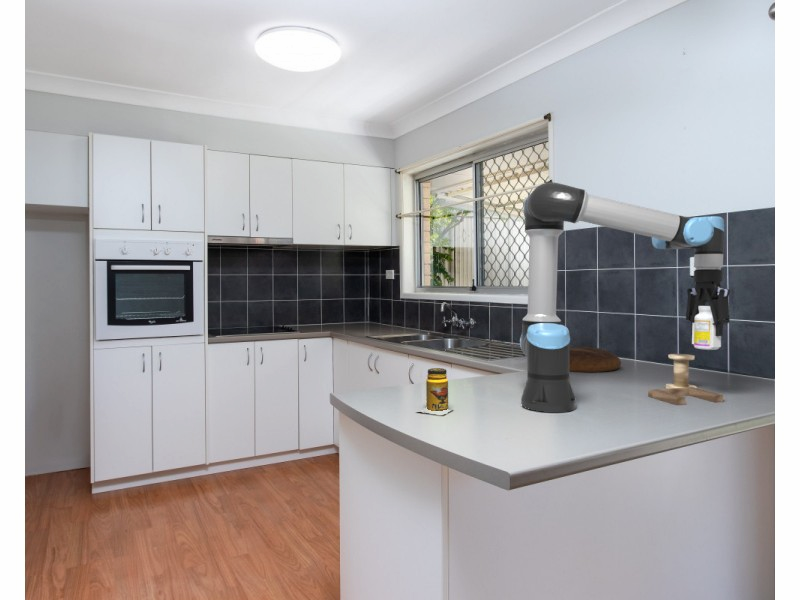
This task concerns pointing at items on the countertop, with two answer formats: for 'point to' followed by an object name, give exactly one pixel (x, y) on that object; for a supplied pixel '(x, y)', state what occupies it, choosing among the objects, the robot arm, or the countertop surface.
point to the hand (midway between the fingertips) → (706, 345)
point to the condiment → (437, 389)
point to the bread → (592, 360)
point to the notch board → (676, 395)
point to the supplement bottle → (703, 328)
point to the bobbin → (680, 371)
